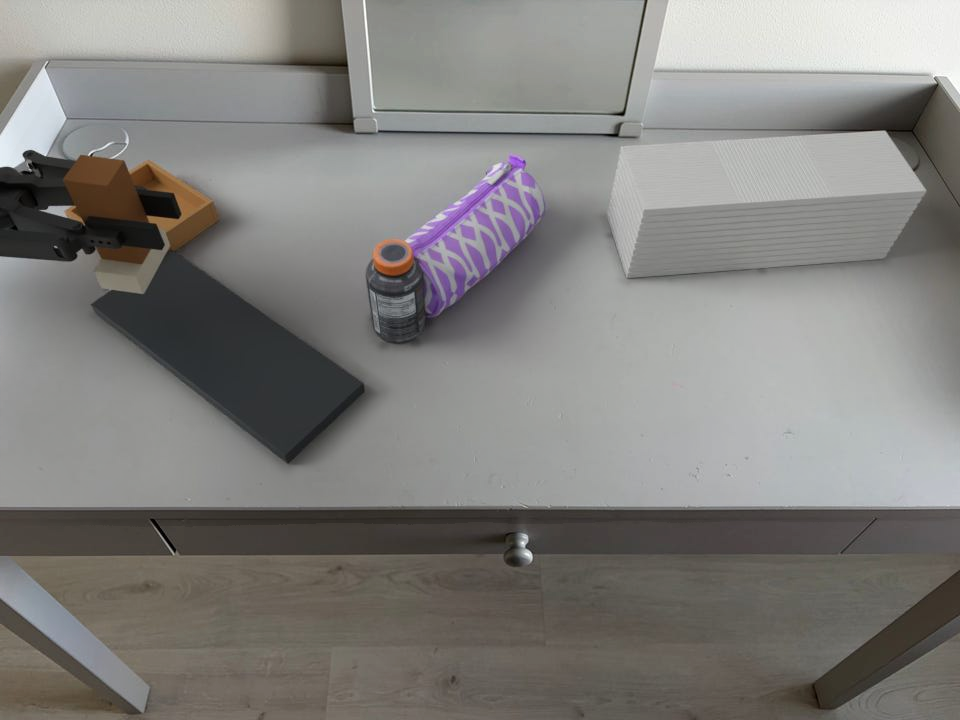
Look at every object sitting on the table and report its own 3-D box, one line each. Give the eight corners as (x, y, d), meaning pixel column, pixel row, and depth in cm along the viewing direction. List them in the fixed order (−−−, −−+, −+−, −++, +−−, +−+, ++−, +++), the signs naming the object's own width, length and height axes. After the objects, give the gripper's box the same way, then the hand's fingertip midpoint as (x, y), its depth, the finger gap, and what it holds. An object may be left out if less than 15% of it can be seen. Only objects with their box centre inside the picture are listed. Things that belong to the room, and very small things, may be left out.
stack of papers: (848, 199, 101) (885, 130, 92) (883, 259, 94) (926, 190, 86) (606, 216, 98) (621, 145, 89) (626, 278, 91) (643, 209, 83)
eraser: (144, 294, 78) (100, 198, 68) (101, 288, 78) (51, 192, 68) (170, 245, 82) (133, 148, 72) (130, 240, 82) (87, 142, 72)
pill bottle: (393, 296, 89) (387, 222, 80) (436, 318, 87) (434, 245, 78) (361, 330, 86) (350, 256, 77) (405, 353, 84) (399, 281, 75)
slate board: (287, 464, 76) (284, 456, 74) (95, 313, 86) (89, 304, 85) (365, 391, 81) (363, 382, 80) (174, 258, 92) (170, 248, 90)
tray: (137, 276, 90) (128, 258, 87) (74, 230, 94) (63, 210, 92) (219, 220, 96) (213, 201, 93) (156, 178, 100) (148, 159, 98)
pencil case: (488, 198, 99) (491, 136, 92) (550, 228, 96) (558, 166, 89) (377, 302, 88) (371, 242, 80) (443, 340, 85) (443, 281, 77)
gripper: (-3, 170, 83) (208, 194, 82) (-93, 283, 73) (145, 312, 72) (-39, 110, 77) (188, 134, 76) (-142, 224, 67) (117, 255, 66)
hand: (167, 221), depth 74 cm, fingers closed on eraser, 4 cm apart
